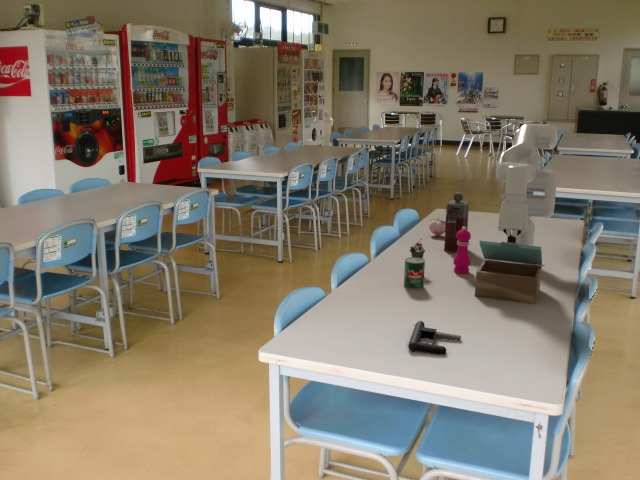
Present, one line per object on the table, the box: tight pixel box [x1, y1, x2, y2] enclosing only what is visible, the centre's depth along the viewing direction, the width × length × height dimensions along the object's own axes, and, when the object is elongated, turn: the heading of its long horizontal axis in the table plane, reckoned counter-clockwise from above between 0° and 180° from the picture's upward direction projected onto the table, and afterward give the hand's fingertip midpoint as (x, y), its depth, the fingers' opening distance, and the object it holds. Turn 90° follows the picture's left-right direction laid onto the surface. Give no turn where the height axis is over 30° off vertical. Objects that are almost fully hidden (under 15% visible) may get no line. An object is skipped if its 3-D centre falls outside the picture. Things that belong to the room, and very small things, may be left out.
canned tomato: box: [403, 256, 426, 291], centre depth 254 cm, size 8×8×11 cm
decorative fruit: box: [428, 217, 446, 237], centre depth 335 cm, size 9×8×10 cm
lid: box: [479, 240, 543, 266], centre depth 245 cm, size 20×22×1 cm
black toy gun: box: [407, 320, 462, 355], centre depth 202 cm, size 3×20×16 cm
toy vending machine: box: [443, 191, 470, 253], centre depth 305 cm, size 9×11×28 cm
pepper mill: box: [453, 226, 472, 275], centre depth 272 cm, size 7×7×20 cm
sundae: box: [409, 238, 426, 259], centre depth 270 cm, size 7×7×15 cm
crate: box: [474, 258, 543, 305], centre depth 247 cm, size 18×22×10 cm
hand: (511, 246), depth 242 cm, fingers closed
